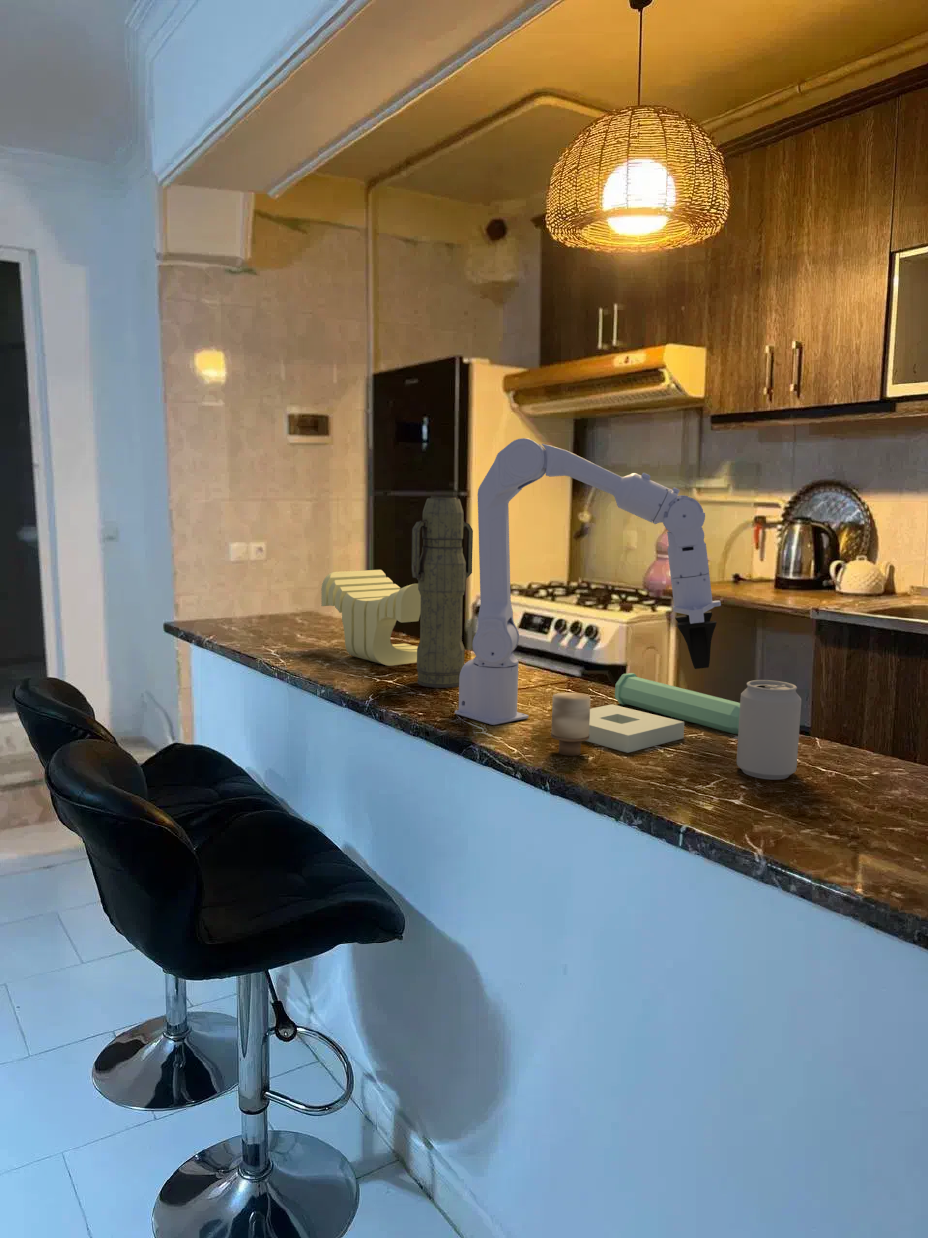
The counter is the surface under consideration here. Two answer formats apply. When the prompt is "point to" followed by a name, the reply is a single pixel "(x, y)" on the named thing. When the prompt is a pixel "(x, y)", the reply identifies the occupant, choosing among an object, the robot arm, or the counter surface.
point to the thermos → (441, 589)
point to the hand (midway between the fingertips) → (700, 663)
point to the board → (631, 728)
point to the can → (769, 729)
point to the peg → (570, 721)
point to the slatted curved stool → (372, 613)
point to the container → (678, 703)
